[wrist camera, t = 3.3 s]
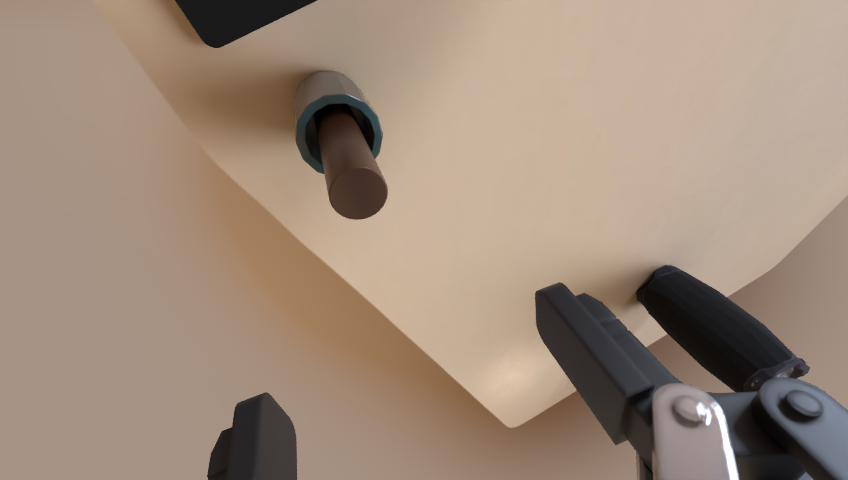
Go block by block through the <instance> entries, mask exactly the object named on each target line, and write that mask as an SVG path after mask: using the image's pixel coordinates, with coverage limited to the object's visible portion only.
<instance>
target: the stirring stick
mask: <svg viewBox="0 0 848 480" xmlns="http://www.w3.org/2000/svg"><path fill="white" fill-rule="evenodd" d="M313 115H314V120H315V126H316V131H317V136H318V142H319V147H320V152H321V158H322V163H323V168H324V174H325V179H326V184H327V190H328V195H329V200H330V203H331V205H332V207H333V208H334V210H335V211H336V212H337V213H339V214H340V215H342V216H344V217H346V218H349V219H365V218H368V217H371V216H372V215H374V214H376V213H377V212H378V211H379V210H380V209H381V208H382V207H383V205H384V204H385V202H386V199H387V194H388V189H387V184H386V182H385V180H384V177H383V175H382V173H381V171H380V169H379V167H378V165H377V163H376V161H375V159H374V157H373V155H372V152H371V150H370V148H369V146H368V144H367V142H366V140H365V138H364V136H363V134H362V132H361V129H360V127H359V125H358V123H357V121H356V119H355V117H354V115H353V113H352V111H351V109H350V107H349V105H348V104H345V103H341V104H328V105H326V106H325V107H323V108H321V109H319V110H318V111H316V112H314V114H313Z"/></svg>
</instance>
